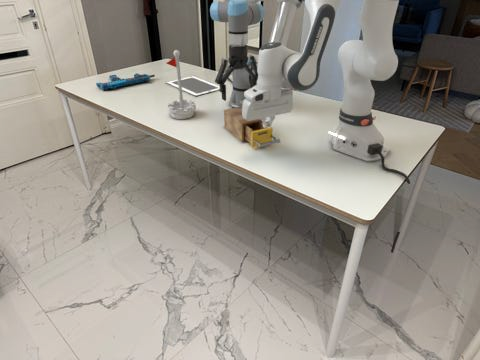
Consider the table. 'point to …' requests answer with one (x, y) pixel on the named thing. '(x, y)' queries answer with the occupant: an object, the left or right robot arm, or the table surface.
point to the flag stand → (180, 95)
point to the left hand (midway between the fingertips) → (238, 97)
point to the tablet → (195, 86)
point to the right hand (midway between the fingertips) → (267, 126)
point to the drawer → (259, 135)
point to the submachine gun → (123, 81)
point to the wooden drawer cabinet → (236, 122)
